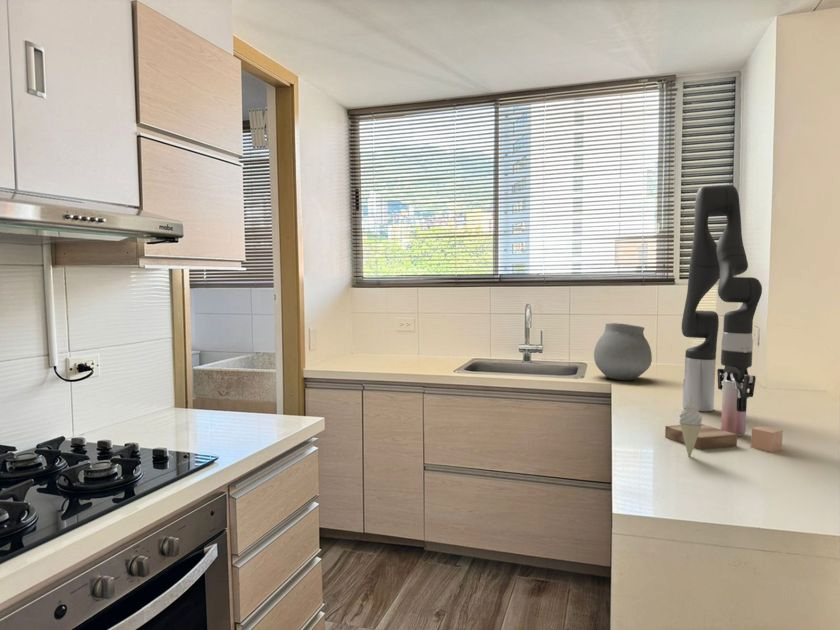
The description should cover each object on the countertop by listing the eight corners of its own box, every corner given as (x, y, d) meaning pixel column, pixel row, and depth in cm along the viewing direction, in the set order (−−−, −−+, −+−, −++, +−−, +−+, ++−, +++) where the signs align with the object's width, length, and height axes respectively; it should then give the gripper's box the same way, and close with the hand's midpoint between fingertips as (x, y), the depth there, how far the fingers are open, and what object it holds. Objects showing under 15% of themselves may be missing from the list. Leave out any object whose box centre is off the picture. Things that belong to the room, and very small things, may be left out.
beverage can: (723, 429, 160) (725, 378, 160) (747, 433, 157) (749, 380, 156) (718, 433, 156) (721, 380, 155) (743, 437, 152) (745, 383, 151)
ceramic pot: (657, 384, 235) (659, 325, 234) (597, 382, 239) (599, 324, 238) (643, 376, 259) (645, 322, 258) (589, 373, 263) (591, 321, 262)
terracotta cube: (751, 447, 143) (751, 428, 143) (760, 444, 146) (761, 425, 145) (771, 452, 139) (772, 432, 138) (781, 449, 141) (782, 430, 141)
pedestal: (665, 436, 151) (665, 426, 151) (700, 434, 155) (700, 423, 155) (699, 449, 140) (700, 437, 140) (736, 446, 144) (737, 434, 143)
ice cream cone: (674, 456, 134) (677, 394, 133) (682, 451, 138) (685, 391, 137) (696, 460, 130) (699, 397, 130) (704, 456, 134) (706, 394, 133)
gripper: (709, 346, 162) (706, 403, 163) (739, 351, 148) (736, 414, 148) (734, 346, 162) (731, 403, 163) (767, 352, 148) (764, 414, 149)
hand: (734, 408), depth 156 cm, fingers closed on beverage can, 6 cm apart
